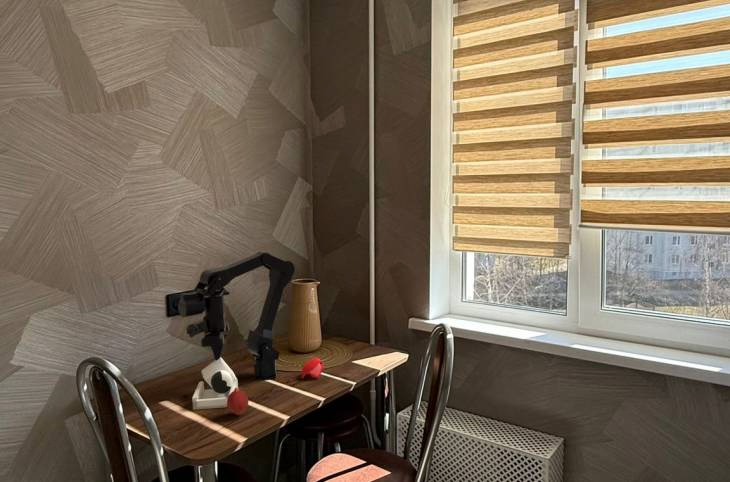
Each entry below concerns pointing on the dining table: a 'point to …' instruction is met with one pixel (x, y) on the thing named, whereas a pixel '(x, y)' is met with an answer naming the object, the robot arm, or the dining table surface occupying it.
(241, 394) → the red rounded lump
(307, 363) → the cap
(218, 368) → the medicine bottle
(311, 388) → the dining table surface
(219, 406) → the cradle
